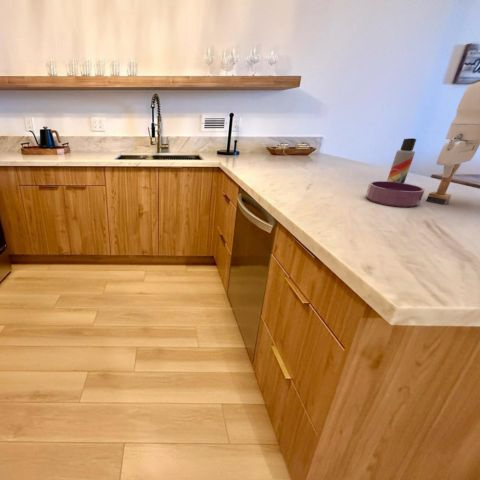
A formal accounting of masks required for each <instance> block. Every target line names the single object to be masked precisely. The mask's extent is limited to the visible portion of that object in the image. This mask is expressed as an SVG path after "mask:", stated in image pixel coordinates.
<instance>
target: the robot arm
mask: <svg viewBox="0 0 480 480" xmlns="http://www.w3.org/2000/svg"><path fill="white" fill-rule="evenodd" d="M450 123H451V124H450V125H449V128H448V131H447V133H446V136H445V139H446V140H447V141H445V143H444V144H443V146H442V147H441V150H440V152H439V155H438V157H437V159H436V165H438V166H443V173H442V175H441V177H445V178H448V177H450V176H451V173H452V169H453V167H454V165H457V168H456V170H455V172H454V175H453V177H454V176H455V175H456V173H457V171H458V169H459V168H460V167H461V165H462V163H467V162H470V161H472V159H473V158H474V156H475V155H476V153H477V151H478V150H479V147H480V79H476V80H474V81H472V82H471V83H469V85H468V86H467V87H466V89H465V90H464V92H463V93H462V96H461V98H460V101H459V103H458V105H457V108H456V114H455V117H454V119H453V120H452V121H451V122H450Z"/></svg>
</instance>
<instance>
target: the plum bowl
mask: <svg viewBox="0 0 480 480" xmlns="http://www.w3.org/2000/svg"><path fill="white" fill-rule="evenodd" d="M424 193H425V188H423V187H421V186H418V185H416V184H411V183H405V182H404V183H399V182H389V181H387V180H376V181H375V180H374V181H371V182H369V185H368V187H367V191H366V194H365V197H366V198H367V199H368V200H369V201H371V202H373V203H376V204H379V205H383V206H384V205H385V206H389V207H397V208H409V207H410V208H412V207H415V206H417V205H419V204H421V200H422V198H423V197H424V196H423V195H424Z"/></svg>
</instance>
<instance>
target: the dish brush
mask: <svg viewBox="0 0 480 480" xmlns="http://www.w3.org/2000/svg"><path fill="white" fill-rule="evenodd" d="M456 168H457V165H454V167H453V169H452V173H451V176H450V177H448V178H445V177H442V176H441V177H442V178H441V180H440V182H439V185H438V187H437V189H436V191H431V192H429V193H428V196H427V198H426V200H425V202H428V203H434V204H438V205H442V206H444V205H447V204H449V203H450V200H451V198H452V194H449V193H447V191H448V189H449V186H450V184H451V181H452V180H453V177H454V176H455V175H454V172H455V170H456ZM453 175H454V176H453Z"/></svg>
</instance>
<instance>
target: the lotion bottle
mask: <svg viewBox="0 0 480 480" xmlns="http://www.w3.org/2000/svg"><path fill="white" fill-rule="evenodd" d="M416 142H417V138H413V137H412V138H403V141H402V143H401V146H400V149H398V150H396V153H395V155H394V159H393V162H392V164H391V168H390V170H389V174H388V177H387V179H386V181H389V182H399V183H405V181H406V180H407V177H408V173H409V171H410V168H411V166H412V163H413V160H414V156H415V153H416V151H414V148H415V145H416Z"/></svg>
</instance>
